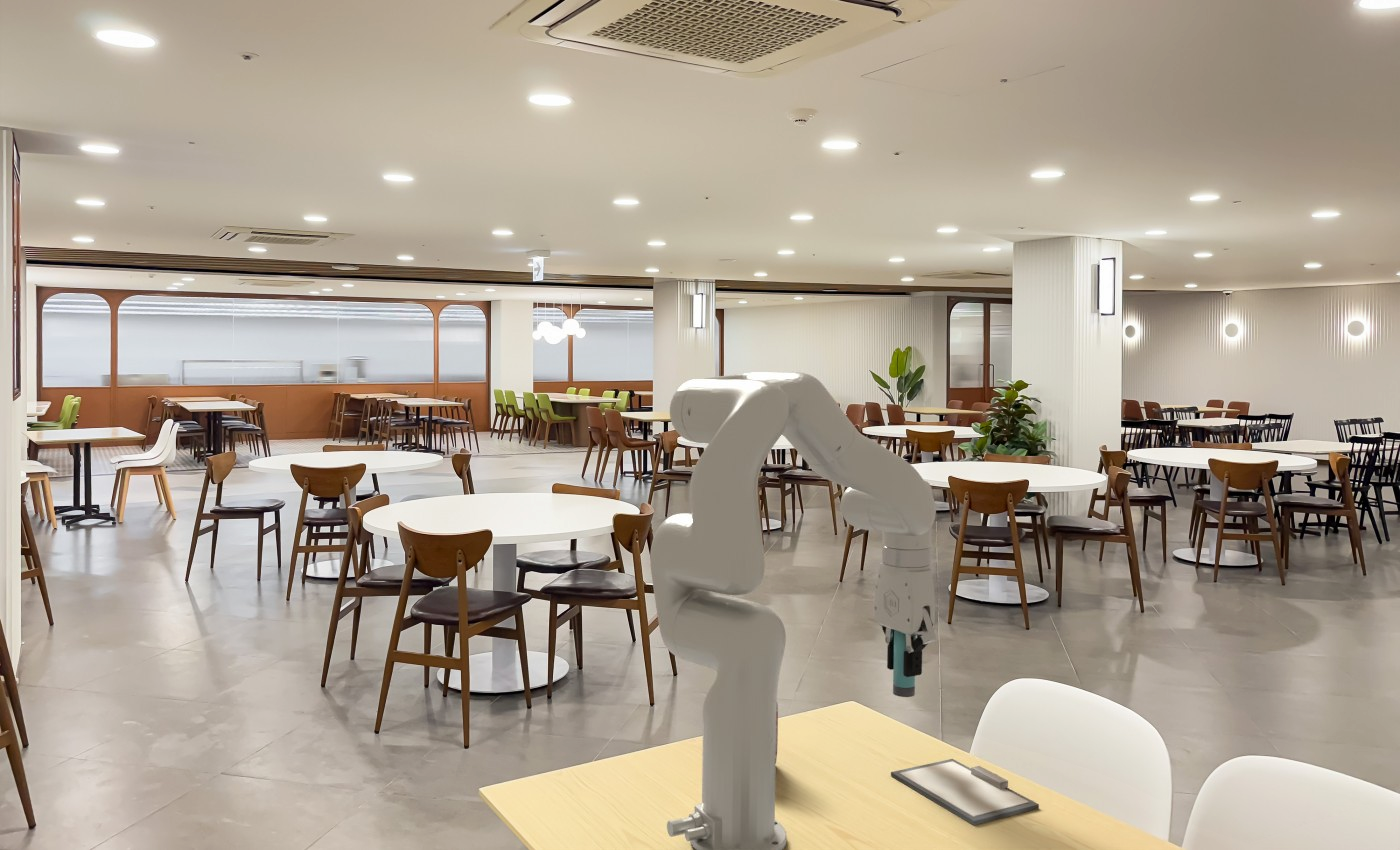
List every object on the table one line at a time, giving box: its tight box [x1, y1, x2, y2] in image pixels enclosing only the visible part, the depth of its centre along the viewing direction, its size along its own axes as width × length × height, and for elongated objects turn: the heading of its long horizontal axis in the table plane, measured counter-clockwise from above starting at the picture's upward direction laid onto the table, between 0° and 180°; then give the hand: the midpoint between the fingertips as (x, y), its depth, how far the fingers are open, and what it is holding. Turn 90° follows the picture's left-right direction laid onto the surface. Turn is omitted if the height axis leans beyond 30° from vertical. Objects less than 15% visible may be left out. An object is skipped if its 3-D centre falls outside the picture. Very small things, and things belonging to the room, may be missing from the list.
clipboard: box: [890, 758, 1040, 826], centre depth 144 cm, size 12×18×2 cm, turn 27°
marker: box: [892, 630, 917, 698], centre depth 156 cm, size 4×4×12 cm
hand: (904, 670), depth 156 cm, fingers closed on marker, 3 cm apart
